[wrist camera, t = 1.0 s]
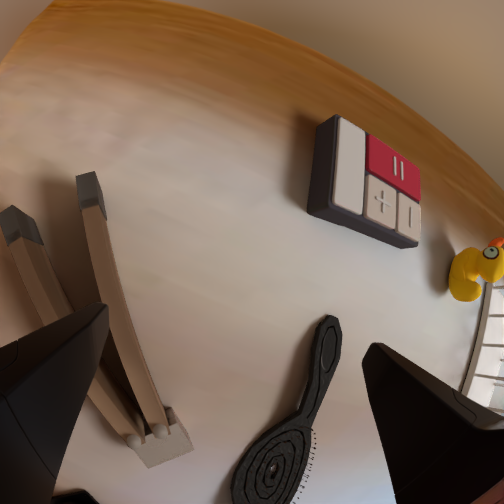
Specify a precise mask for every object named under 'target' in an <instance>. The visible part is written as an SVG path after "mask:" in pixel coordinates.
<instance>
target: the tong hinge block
mask: <svg viewBox="0 0 504 504" xmlns="http://www.w3.org/2000/svg"><path fill="white" fill-rule="evenodd" d="M165 414H166V418H167V422H168V425H169V429H170V432H171V434H170V435H168V436H167V437H166V438H164V439H158V438H157V439H155V437H154V435H153V433H152V431H151V429H150V427H149V425H148V423H147V421H146V418H145V419H143V423H144V432H145V441H146V443H144V444H142V445H141V447H140V448H139V449H133V450H134V451H135V452H136V454H137V455H138V456H139V458H140V459H141V460H142V462H143V463H144V464H145V465H146V467H147V468H151V467H154V466H156V465H159V464H161V463H164V462H166V461H169V460H171V459H174V458H176V457H179V456H181V455H184V454H186V453H188V452H190V451H193V450H194V447H193V445H192V443H191V440H190V438H189V436H188V433H187V431H186V430H185V428H184V427H183V425H182V423H181V422H180V420H179V419H178V417H177V415H176V414H175V412H174V410H173V409H172V408H169V409H167V410H165Z"/></svg>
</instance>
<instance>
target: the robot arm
mask: <svg viewBox="0 0 504 504" xmlns="http://www.w3.org/2000/svg"><path fill="white" fill-rule="evenodd" d="M108 332H109V307H108V305H107V304H105V303H101V302H94V303H92V304H90V305H88V306H86V307H84V308H81V309H79V310H77V311H75V312H73V313H71V314H69V315H67V316H65V317H63V318H61V319H59V320H56V321H54V322H52V323H50V324H48V325H46V326H44V327H42V328H40V329H38V330H36V331H34V332H32V333H30V334H28V335H26V336H24V337H22V338H20V339H18V341H17V340H15V341H13V342H11V343H9V344H7V345H5V346H3V347H1V348H0V504H99V503H98V502H97V501H96V500H95V499H94V498H93V497H92V496H91V495H90V494H89V493H88V492H87V491H80V492H75V493H71V494H66V495H61V496H56V497H52V494H53V490H54V487H55V483H56V479H57V476H58V473H59V470H60V467H61V463H62V460H63V457H64V454H65V451H66V448H67V445H68V443H69V440H70V437H71V434H72V431H73V429H74V426H75V423H76V421H77V418H78V415H79V413H80V410H81V408H82V405H83V403H84V400H85V398H86V395H87V393H88V390H89V388H90V385H91V383H92V381H93V378H94V376H95V373H96V371H97V368H98V365H99V361H100V358H101V355H102V351H103V348H104V345H105V342H106V339H107V335H108ZM362 369H363V374H364V378H365V383H366V388H367V393H368V398H369V402H370V405H371V409H372V412H373V415H374V419H375V422H376V426H377V429H378V433H379V436H380V440H381V443H382V447H383V451H384V454H385V458H386V462H387V466H388V470H389V474H390V478H391V482H392V486H393V490H394V494H395V499H396V504H504V416H501V415H498V414H497V413H495V412H493V411H491V410H489V409H487V408H486V407H484V406H482V405H480V404H478V403H476V402H475V401H473V400H471V399H469V398H468V397H466V396H465V395H463V394H461V393H460V392H458V391H457V390H455V389H453V388H451V387H450V386H449V385H447V384H446V383H444V382H442V381H441V380H439V379H438V378H436V377H435V376H433V375H432V374H430V373H428V372H427V371H425V370H424V369H422V368H421V367H419V366H418V365H416V364H414V363H413V362H411V361H410V360H408V359H407V358H405V357H404V356H402V355H401V354H399V353H397V352H396V351H394V350H393V349H391V348H390V347H388V346H387V345H385V344H384V343H376V342H374V343H372V344H371V345H370V347H369V348H368V350H367V352H366V354H365V356H364V358H363V360H362ZM85 495H86V496H85Z"/></svg>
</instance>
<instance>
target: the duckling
mask: <svg viewBox="0 0 504 504" xmlns="http://www.w3.org/2000/svg"><path fill="white" fill-rule="evenodd" d="M503 243H504V238H501V237H499V238H496V239H494V240H492V241H491V242H490V244H489V245H488V247H487V248H485V249H484V250H483V251H481V252H480V251H479V250H478V249H476V248H473V247H470V248H466V249H464V250H463V251H462V252H460V253H459V254H457V255H456V256H455V257H454V259H453V262H452V264H451V269H450V273H449V289H450V292H451V294H452V295H453V297H454V298H455V299H456V300H458V301H464V302H471V301H474V300H476V299H477V298H478V297H479V296H480V295H481V292H482V289H481V286H480V285H479V284H478V283H477V282H475V281H476V279H477V277H478V276H479V275H480V276H481V277H482V278H483V279H484V280H486V281H488V282H489V283H494V282H496V281H497V280H499V279H500V278H501V277H502V276H503V275H504V250H503V249H502V248H501V245H502V244H503Z"/></svg>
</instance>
